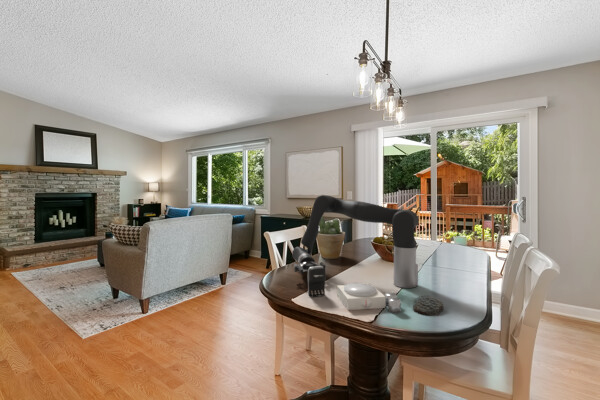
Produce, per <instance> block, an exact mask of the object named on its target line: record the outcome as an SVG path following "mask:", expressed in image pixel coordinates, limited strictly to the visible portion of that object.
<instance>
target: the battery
mask: <svg viewBox="0 0 600 400" xmlns="http://www.w3.org/2000/svg"><path fill="white" fill-rule="evenodd" d="M325 269H326V268H325ZM325 269H324V268H323V267H322V266H315V267H310V268H309V269H308V272H307V295H308V296H310V297H322V296H325V295H326V289H325V286H326V285H325V284H326V281H327V276H326V275H327V273H326V272H327V271H325Z"/></svg>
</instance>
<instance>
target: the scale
mask: <svg viewBox="0 0 600 400" xmlns="http://www.w3.org/2000/svg"><path fill="white" fill-rule="evenodd" d="M336 297H338V299H339V301H341V303H342V304H343V306H344V307H345V308H346V310H347V311H353V310H354V311H355V310H357V311H358V310H369V309H371V310H372V309H385V308H386V305H385V294H383V293H382V292H381V291H380V290H378V289H377V288H376V287H375V285H374V286H373V285H372V284H371V283H363V282H351V283H347V284H343V285H341V284H339V285H336Z"/></svg>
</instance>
